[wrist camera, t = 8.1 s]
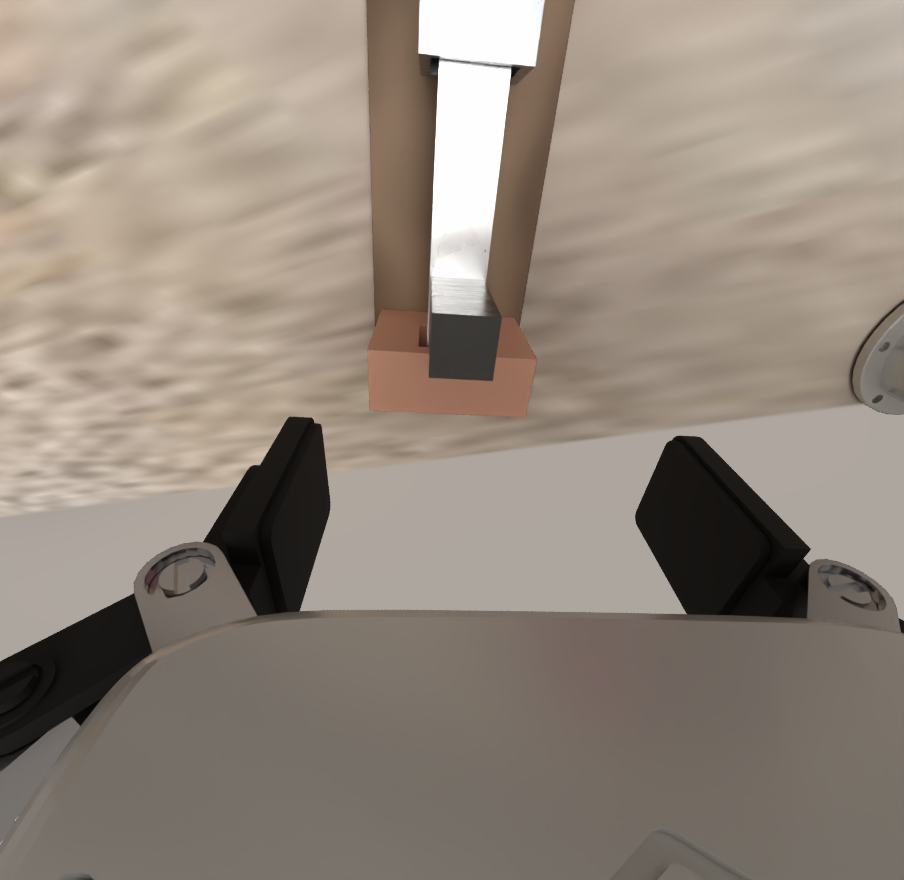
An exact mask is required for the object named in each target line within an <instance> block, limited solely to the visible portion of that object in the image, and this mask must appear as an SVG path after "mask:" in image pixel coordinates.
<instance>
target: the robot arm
mask: <svg viewBox="0 0 904 880" xmlns="http://www.w3.org/2000/svg"><path fill="white" fill-rule="evenodd" d="M852 383H853V388H854V392H855V394H856V396H857V398H858V399H859V400H860V401H861V402H862V403H864V404H865V405H866V406H868V407H870V408H872V409H874V410H876V411H878V412H881V413H885V414H897V415H900V414H904V303H903V304H902V305H900V306H899V307H898V308H897V309H896V310H895V311H894V312H892V313H891V314H890V315H889V316H888V317H887V318H886V319H885V320H884V321H883V322H882V323H881V324H880V325H879V326H878V328H877V329H876V330H875V331H874V332H873V333H872V335H871V336H870V338H869V339H868V341H867V342H866V343H865V345H864V346H863V348H862V350H861V352H860V354H859V356H858V358H857V361H856V364H855V367H854V371H853V380H852ZM329 513H330V495H329V486H328V477H327V469H326V460H325V451H324V442H323V434H322V427H321V424H316V423H314V420H313V418H307V417H289V418H288V419H287V420H286V422H285V424H284V426H283V427H282V429H281V431H280V432H279V434H278V436H277V437H276V439H275V441H274V443H273V444H272V446H271V448H270V449H269V451H268V453H267V454H266V456H265V458H264V460H263V461H262V463H261V465H253V466H251V467H250V468H249V469H248V470H247V472H246V474H245V475H244V477H243V478H242V480H241V482H240V483H239V485H238V486H237V488H236V490H235V491H234V493H233V495H232V496H231V498H230V499H229V501H228V503H227V504H226V506H225V507H224V509H223V511H222V512H221V514H220V515H219V517H218V519H217V520H216V522H215V523H214V525H213V527H212V528H211V530H210V532H209V533H208V535H207V536H206V538H205V540H204V541H203V542H191V543H184V544H180V545H177V546H174V547H171V548H169V549H167V550H165V551H163V552H161V553H160V554H157V555H156V556H155V557H154V558H152V559H151V560H150V561H149V562H147V563H146V564H145V565H144V566H143V568H142V569H141V570H140V571H139V572H138V574H137V577H136V579H135V581H134V594H132V595H130V596H128V597H126V598H124V599H122V600H120V601H118V602H116V603H114V604H112V605H111V606H108V607H106V608H104V609H102V610H100V611H98V612H97V613H95V614H92V615H90V616H88V617H86V618H85V619H83V620H81V621H79V622H77V623H75V624H73V625H71V626H69V627H67V628H65V629H63V630H61V631H59V632H57V633H55V634H53V635H51V636H49V637H48V638H46V639H43V640H41V641H39V642H37V643H35V644H33V645H31V646H29V647H27V648H25V649H24V650H22V651H20V652H18V653H16V654H14V655H12V656H10V657H8V658H6V659H4V660H2V661H1V662H0V842H1V841H2V840H3V839H4V840H3V842H2V843H1V845H0V880H904V621H903V620H901V619H899V618H898V613H897V608H896V605H895V603H894V600H893V598H892V597H891V596H890V595H889V593H888V592H887V591H886V590H885V589H884V588H883V587H882V586H881V585H879V584H878V583H877V582H876V581H875V580H873V579H872V578H870V577H869V576H867V575H866V574H864V573H863V572H861V571H859V570H857V569H855V568H853V567H851V566H849V565H846V564H843V563H841V562H837V561H833V560H828V559H820V560H815V561H813V562H811V564H810V565H809V564H808V563H807V562H806V561H805V560H804V559H803V558H804V557H805V556H806V555H807V553H808V552H809V551H810V550H811V549H810V548H809V547H808V546H807V545H806V544H805V543H804V542H803V541H802V540H801V538H799V536H798V535H796V533H795V532H794V531H793V530H792V529H791V528H790V527H789V526H788V525H787V524H786V523H785V522H784V521H783V520H782V519H781V518H780V517H779V516H778V515H777V514H776V513H775V512H774V511H773V510H772V509H771V508H770V507H769V506H768V505H767V504H766V503H765V502H764V501H763V500H762V499H761V498H760V497H759V496H758V495H757V494H756V493H755V492H754V491H753V490H752V489H751V488H750V487H749V486H748V485H747V483H745V481H744V480H743V479H742V478H741V477H740V476H739V475H738V474H737V473H736V472H735V471H734V470H733V469H732V468H731V467H730V466H729V465H728V464H727V463H726V462H725V461H724V460H723V459H722V458H721V457H720V456H719V455H718V454H717V453H716V452H715V451H714V450H713V449H712V448H711V447H710V446H709V445H708V444H707V443H706V442H705V441H704V440H703V439H702V438H700V437H695V436H676V437H675V438H673V440H672V441H669V442H668V443H667V444H666V446H665V448H664V450H663V452H662V455H661V457H660V459H659V461H658V463H657V466H656V468H655V470H654V473H653V475H652V477H651V479H650V482H649V484H648V486H647V488H646V491H645V493H644V495H643V497H642V500H641V502H640V504H639V507H638V509H637V511H636V515H635V519H636V524H637V526H638V528H639V530H640V531H641V533H642V535H643V537H644V539H645V540H646V542H647V544H648V546H649V547H650V549H651V551H652V553H653V554H654V556H655V558H656V560H657V562H658V563H659V565H660V567H661V569H662V571H663V572H664V574H665V576H666V578H667V580H668V581H669V583H670V585H671V587H672V588H673V590H674V592H675V594H676V596H677V597H678V599H679V601H680V603H681V605H682V606H683V608H684V610H685V612H686V613H687V614H646V613H645V614H644V613H593V612H592V613H591V612H589V613H588V612H533V611H530V612H529V611H457V610H456V611H455V610H454V611H452V610H322V611H300V608H301V605H302V601H303V598H304V595H305V592H306V588H307V585H308V582H309V578H310V575H311V572H312V569H313V565H314V562H315V559H316V556H317V552H318V549H319V546H320V543H321V539H322V536H323V533H324V530H325V526H326V523H327V520H328V517H329ZM299 611H300V612H299ZM18 816H19V817H18ZM17 817H18V818H17ZM16 818H17V820H16V821H14V820H15V819H16Z"/></svg>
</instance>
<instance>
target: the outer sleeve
mask: <svg viewBox="0 0 904 880" xmlns="http://www.w3.org/2000/svg"><path fill="white" fill-rule="evenodd" d="M544 1H545V0H420V9H419V51H418V54H419V63H420V72H421V75H424V76H433V77H438V70H439V58H441V59H450V60H459V61H467V62H476V63H485V64H494V65H503V66H511V74H510V82H509V85H514V86H515V85H516V84H517V83H519V82H520V81H521V80H522V79H523V78H524V77H525V76H526V75H527V74H528V73H529V72H530V71H531V70H532V69H533V68H534V67H535V65H536V58H537V51H538V43H539V36H540V29H541V22H542V15H543V8H544Z"/></svg>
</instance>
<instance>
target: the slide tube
mask: <svg viewBox="0 0 904 880" xmlns="http://www.w3.org/2000/svg"><path fill="white" fill-rule="evenodd" d="M510 74H511V66H503V65H494V64H485V63H476V62H467V61H459V60H450V59H441V58H439V70H438V92H437V115H436V137H435V160H434V182H433V205H432V227H431V249H430V272H429V294H428V317H427V339H426V347H429V378H441V379H460V380H479V381H493V376H494V370H495V363H496V356H497V349H498V342H499V335H500V328H501V321H502V316H501V314H500V312H499V310H498V308H497V305H496V303H495V301H494V299H493V297H492V295H491V293H490V291H489V289H488V286H487V284H486V278H487V269H488V261H489V252H490V244H491V235H492V227H493V218H494V210H495V201H496V193H497V184H498V176H499V167H500V159H501V150H502V142H503V133H504V125H505V116H506V108H507V99H508V91H509V82H510Z"/></svg>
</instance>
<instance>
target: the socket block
mask: <svg viewBox="0 0 904 880" xmlns="http://www.w3.org/2000/svg"><path fill="white" fill-rule="evenodd" d="M427 317H428V312H415V311H400V310H385V309H381V312H380V315H379V318H378V321H377V324H376V327H375V330H374V333H373V335H372V338H371V341H370V344H369V347H368V376H369V403H370V410H373V411H395V412H417V413H439V414H461V415H483V416H505V417H526V412H527V407H528V402H529V398H530V393H531V388H532V383H533V378H534V373H535V368H536V363H537V358H536V357H535V355H534V353H533V351H532V349H531V347H530V346H529V344H528V342H527V340H526V338H525V337H524V335H523V333H522V331H521V329H520V327H519V326H518V324H517V322H516V320H515V318H508V317H502V321H501V328H500V335H499V342H498V349H497V356H496V363H495V370H494V376H493V381H479V380H460V379H441V378H429V347H426V339H427Z"/></svg>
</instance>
